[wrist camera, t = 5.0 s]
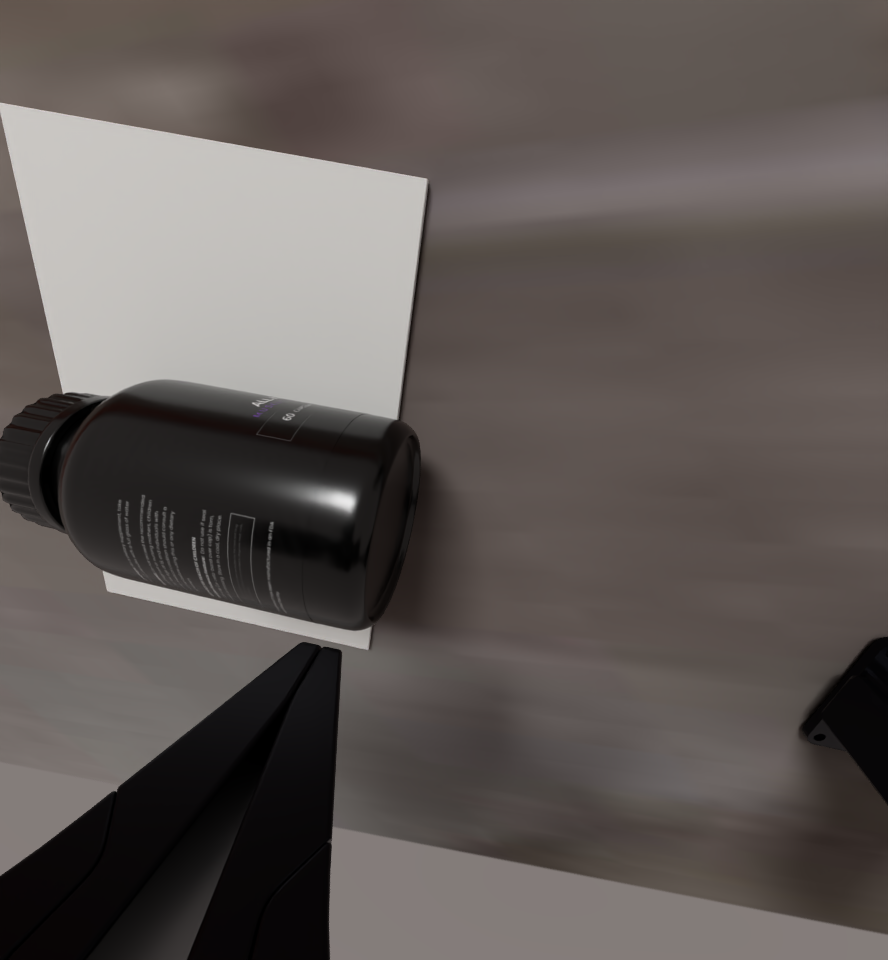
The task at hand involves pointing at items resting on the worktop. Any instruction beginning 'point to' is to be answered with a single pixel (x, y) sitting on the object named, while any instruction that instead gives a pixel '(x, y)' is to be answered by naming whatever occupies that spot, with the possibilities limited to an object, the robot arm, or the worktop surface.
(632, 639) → the worktop surface
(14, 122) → the mat
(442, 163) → the worktop surface
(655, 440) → the worktop surface
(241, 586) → the supplement bottle
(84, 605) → the worktop surface
